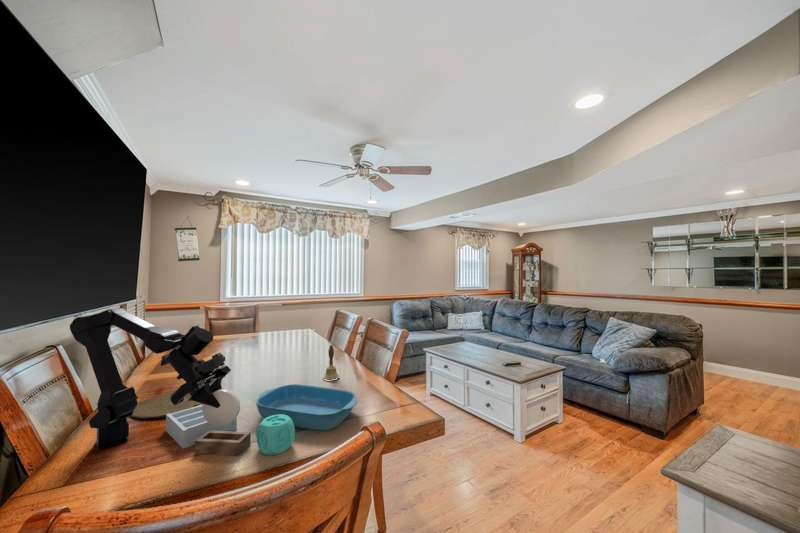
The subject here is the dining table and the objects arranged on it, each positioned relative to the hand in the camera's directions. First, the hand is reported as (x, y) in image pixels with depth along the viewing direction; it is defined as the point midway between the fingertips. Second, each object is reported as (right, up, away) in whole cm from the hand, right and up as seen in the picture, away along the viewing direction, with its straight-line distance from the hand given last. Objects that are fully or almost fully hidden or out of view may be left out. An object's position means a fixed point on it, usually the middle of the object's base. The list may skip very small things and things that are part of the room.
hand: (222, 404), depth 92 cm
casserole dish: (+19, -14, +21) cm, 31 cm away
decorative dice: (+15, -13, 0) cm, 20 cm away
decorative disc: (-35, -14, +31) cm, 48 cm away
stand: (+1, -13, 0) cm, 13 cm away
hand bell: (+19, -14, +61) cm, 66 cm away
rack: (-13, -13, +10) cm, 21 cm away
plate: (0, -1, 0) cm, 1 cm away
